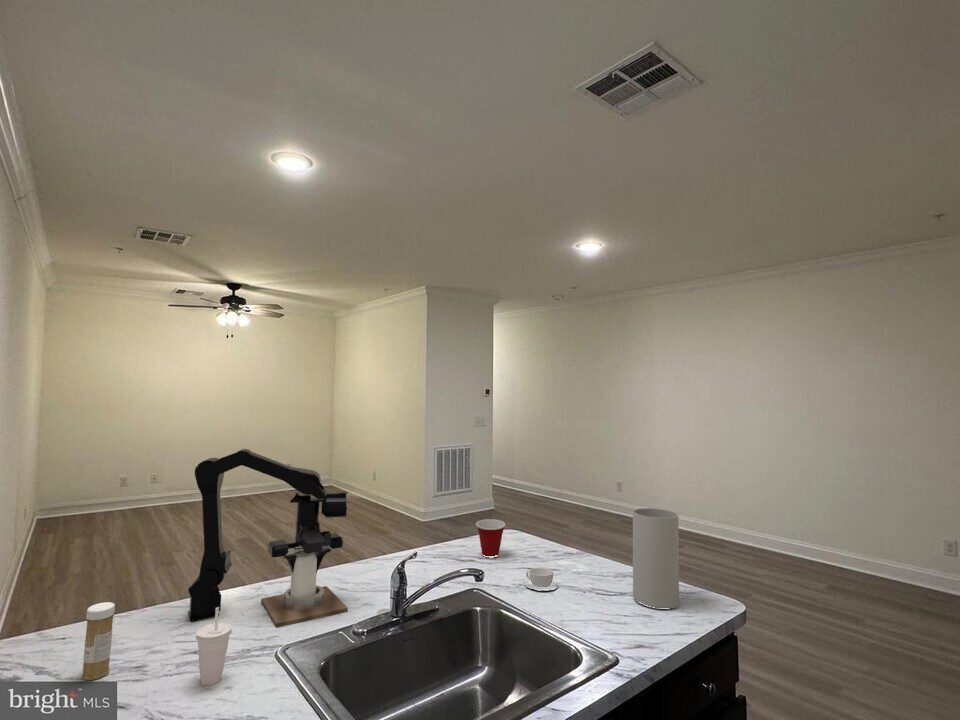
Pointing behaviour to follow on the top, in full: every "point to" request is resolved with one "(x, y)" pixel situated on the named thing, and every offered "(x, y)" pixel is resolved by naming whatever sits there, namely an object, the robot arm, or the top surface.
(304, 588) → the can
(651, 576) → the cylinder vase
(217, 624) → the smoothie
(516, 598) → the top surface
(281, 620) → the base plate
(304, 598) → the ring collar
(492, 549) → the plastic cup
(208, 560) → the robot arm
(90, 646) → the sprinkles bottle
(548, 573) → the teacup
